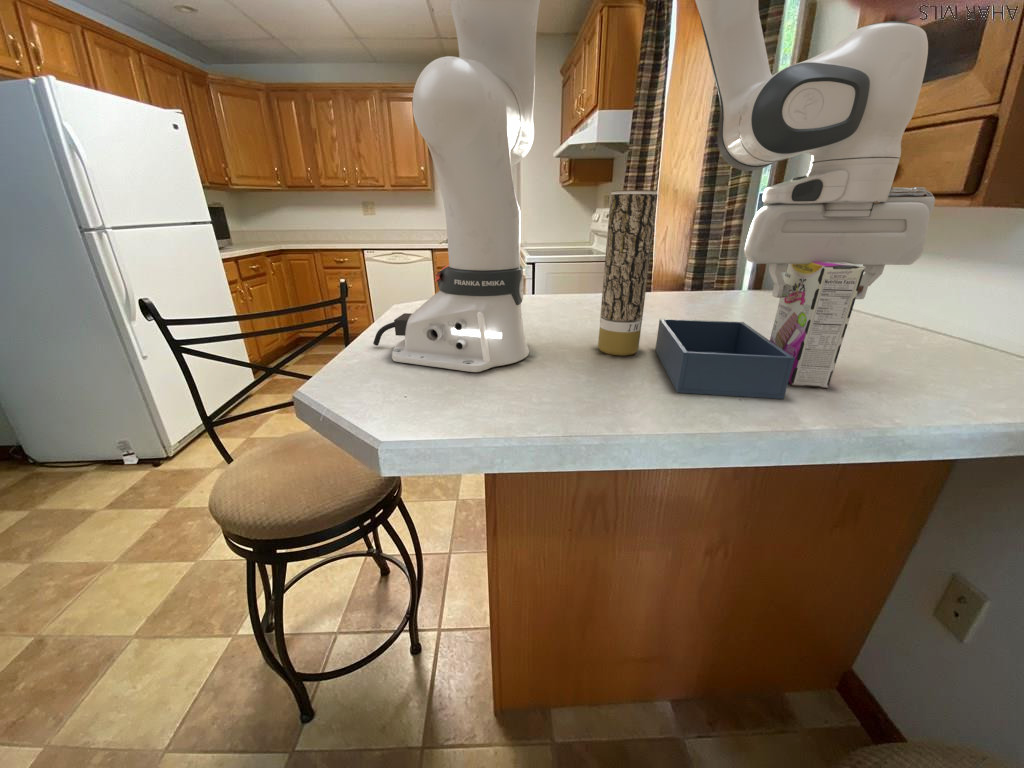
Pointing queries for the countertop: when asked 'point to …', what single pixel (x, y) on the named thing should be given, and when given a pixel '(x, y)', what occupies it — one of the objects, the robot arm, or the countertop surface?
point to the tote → (722, 359)
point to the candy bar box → (815, 318)
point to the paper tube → (626, 269)
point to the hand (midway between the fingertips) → (816, 297)
